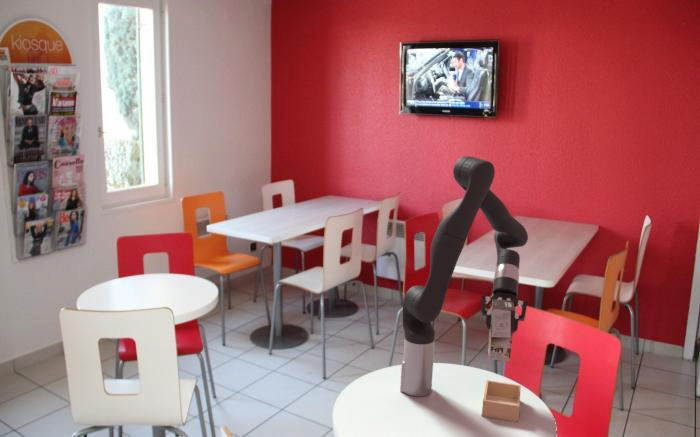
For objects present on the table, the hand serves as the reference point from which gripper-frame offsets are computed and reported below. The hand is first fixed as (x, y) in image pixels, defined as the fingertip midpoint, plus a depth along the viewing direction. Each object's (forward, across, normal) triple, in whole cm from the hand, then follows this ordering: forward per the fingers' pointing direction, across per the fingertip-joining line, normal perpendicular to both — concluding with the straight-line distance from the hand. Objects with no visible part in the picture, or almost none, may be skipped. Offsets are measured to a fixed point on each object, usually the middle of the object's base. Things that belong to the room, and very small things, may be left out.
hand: (501, 330), depth 190 cm
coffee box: (+6, 0, +6) cm, 8 cm away
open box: (+20, +2, +11) cm, 23 cm away
